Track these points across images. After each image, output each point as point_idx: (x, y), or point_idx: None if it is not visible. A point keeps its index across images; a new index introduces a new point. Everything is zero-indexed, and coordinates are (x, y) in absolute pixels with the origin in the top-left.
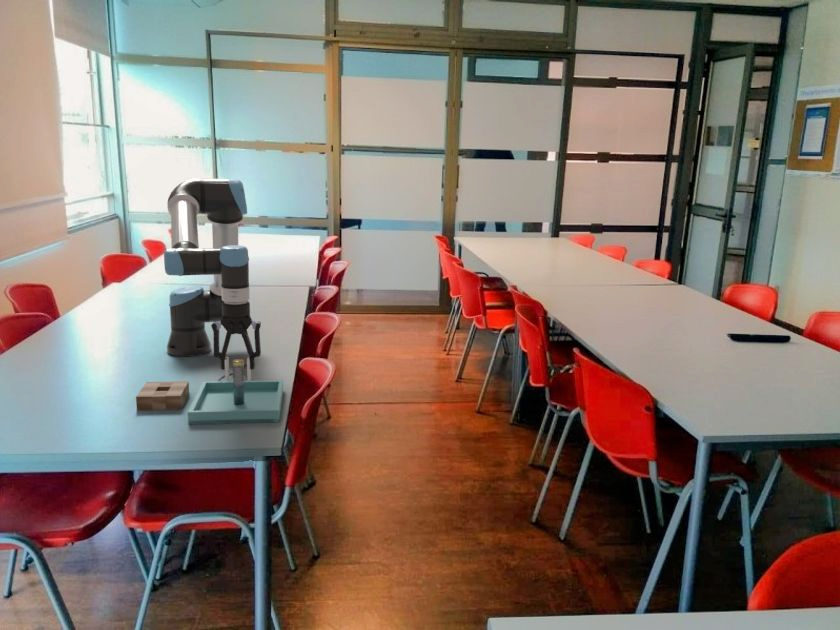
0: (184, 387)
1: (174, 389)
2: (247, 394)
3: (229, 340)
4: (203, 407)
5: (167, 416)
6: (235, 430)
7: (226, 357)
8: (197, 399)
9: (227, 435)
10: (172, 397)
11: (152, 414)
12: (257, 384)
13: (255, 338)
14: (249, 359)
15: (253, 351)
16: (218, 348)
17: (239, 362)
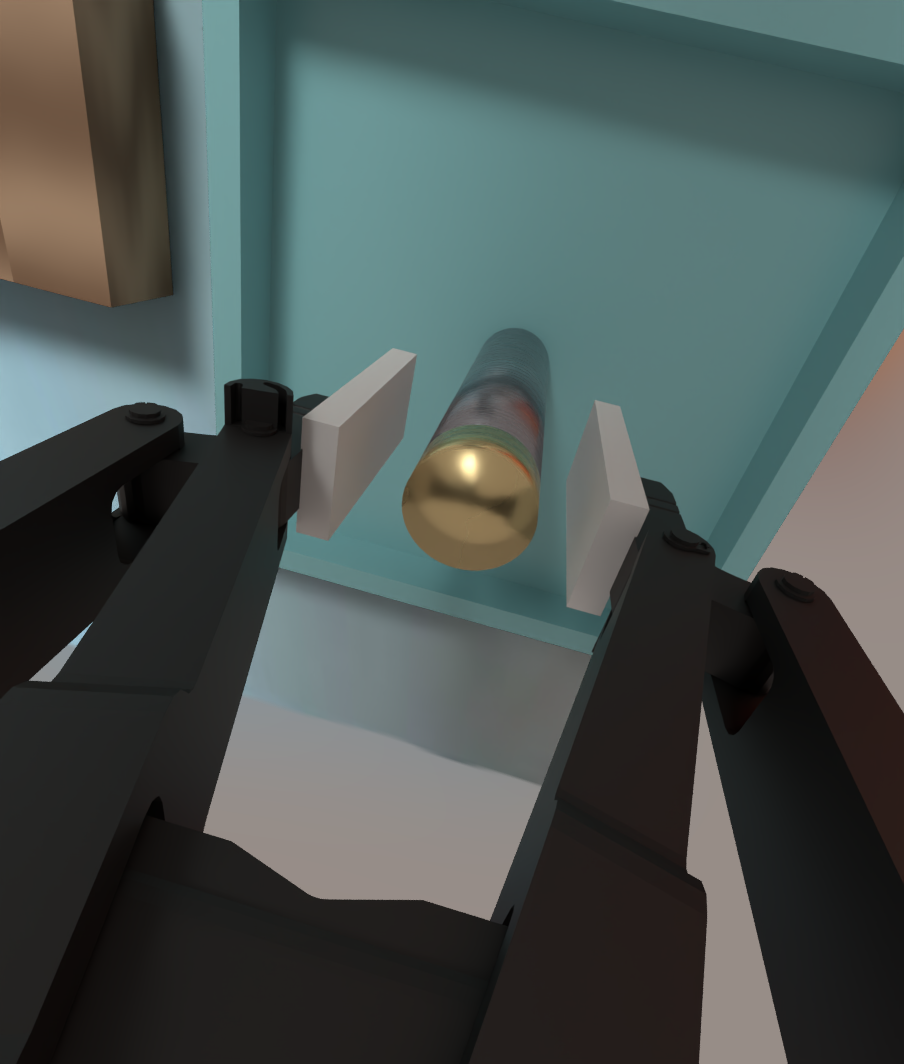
0: (79, 94)
1: (19, 131)
2: (609, 184)
3: (223, 714)
4: (295, 371)
5: (131, 386)
6: (457, 640)
7: (313, 446)
8: (235, 378)
9: (422, 667)
10: (68, 294)
11: (46, 332)
12: (752, 41)
13: (787, 989)
14: (600, 611)
15: (709, 586)
16: (119, 480)
17: (477, 570)
